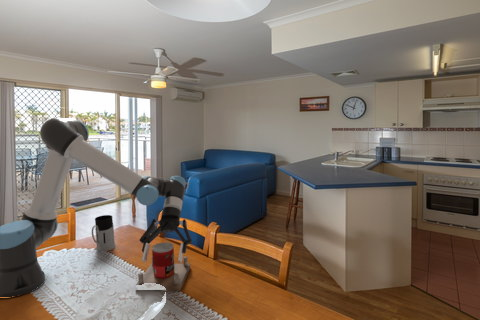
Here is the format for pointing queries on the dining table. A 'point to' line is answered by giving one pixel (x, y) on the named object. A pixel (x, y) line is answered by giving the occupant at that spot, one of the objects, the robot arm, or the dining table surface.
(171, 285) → the peg board
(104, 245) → the grey mug
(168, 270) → the canned food
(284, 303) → the dining table surface
